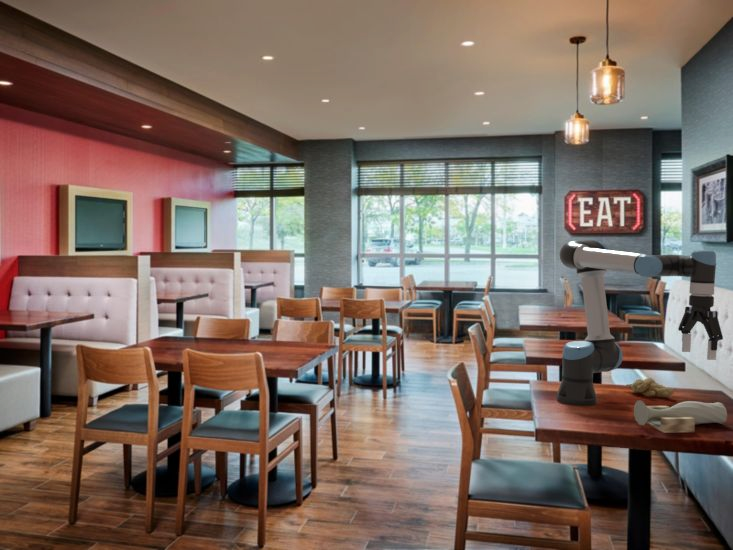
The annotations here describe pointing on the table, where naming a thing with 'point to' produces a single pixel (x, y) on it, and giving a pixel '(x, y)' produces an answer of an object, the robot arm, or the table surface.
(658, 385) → the ginger root
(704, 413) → the vase
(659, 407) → the u rest
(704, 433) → the table surface
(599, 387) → the table surface
